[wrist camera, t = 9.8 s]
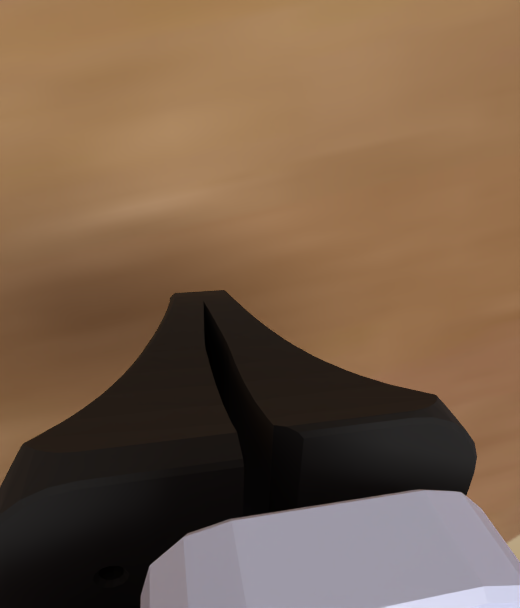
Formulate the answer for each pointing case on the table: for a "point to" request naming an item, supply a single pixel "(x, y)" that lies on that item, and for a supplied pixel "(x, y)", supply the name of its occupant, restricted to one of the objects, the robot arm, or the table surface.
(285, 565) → the robot arm
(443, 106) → the table surface
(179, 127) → the table surface
